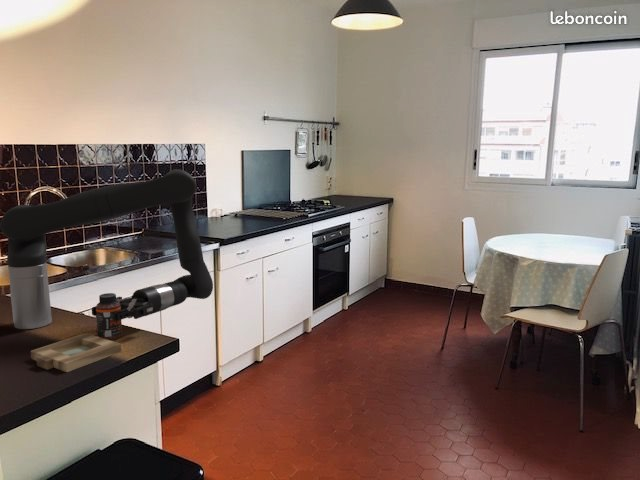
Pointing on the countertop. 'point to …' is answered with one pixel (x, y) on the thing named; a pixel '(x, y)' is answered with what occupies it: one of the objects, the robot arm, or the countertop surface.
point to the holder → (74, 352)
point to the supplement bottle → (108, 317)
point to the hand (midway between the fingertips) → (102, 314)
